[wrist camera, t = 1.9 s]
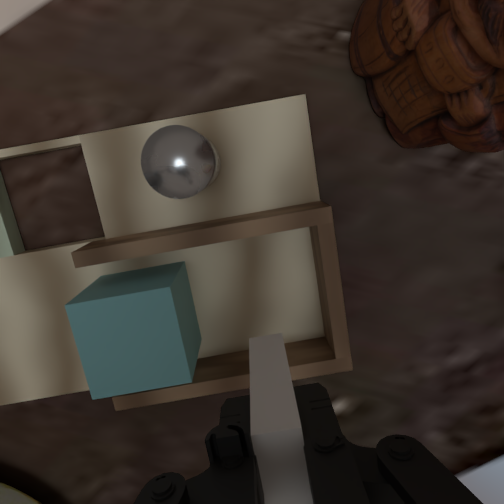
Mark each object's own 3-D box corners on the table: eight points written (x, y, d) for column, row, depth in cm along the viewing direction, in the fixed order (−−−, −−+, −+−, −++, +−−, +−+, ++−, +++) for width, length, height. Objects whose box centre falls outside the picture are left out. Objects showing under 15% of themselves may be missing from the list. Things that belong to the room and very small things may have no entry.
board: (-14, 398, 32) (-27, 410, 30) (-97, 170, 28) (-116, 170, 26) (335, 337, 31) (340, 346, 30) (301, 97, 28) (305, 94, 26)
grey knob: (172, 194, 27) (150, 204, 20) (161, 139, 26) (133, 132, 20) (225, 184, 27) (219, 192, 20) (214, 130, 26) (205, 118, 20)
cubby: (129, 382, 30) (115, 411, 27) (91, 241, 28) (70, 252, 24) (340, 346, 30) (352, 369, 27) (320, 200, 28) (331, 206, 24)
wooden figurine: (321, 8, 26) (481, -299, 9) (409, -45, 26) (766, -485, 8) (396, 168, 29) (640, 178, 11) (478, 122, 28) (869, 57, 11)
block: (121, 352, 30) (92, 399, 24) (100, 275, 28) (64, 305, 22) (201, 338, 30) (192, 382, 24) (184, 260, 28) (169, 286, 22)
